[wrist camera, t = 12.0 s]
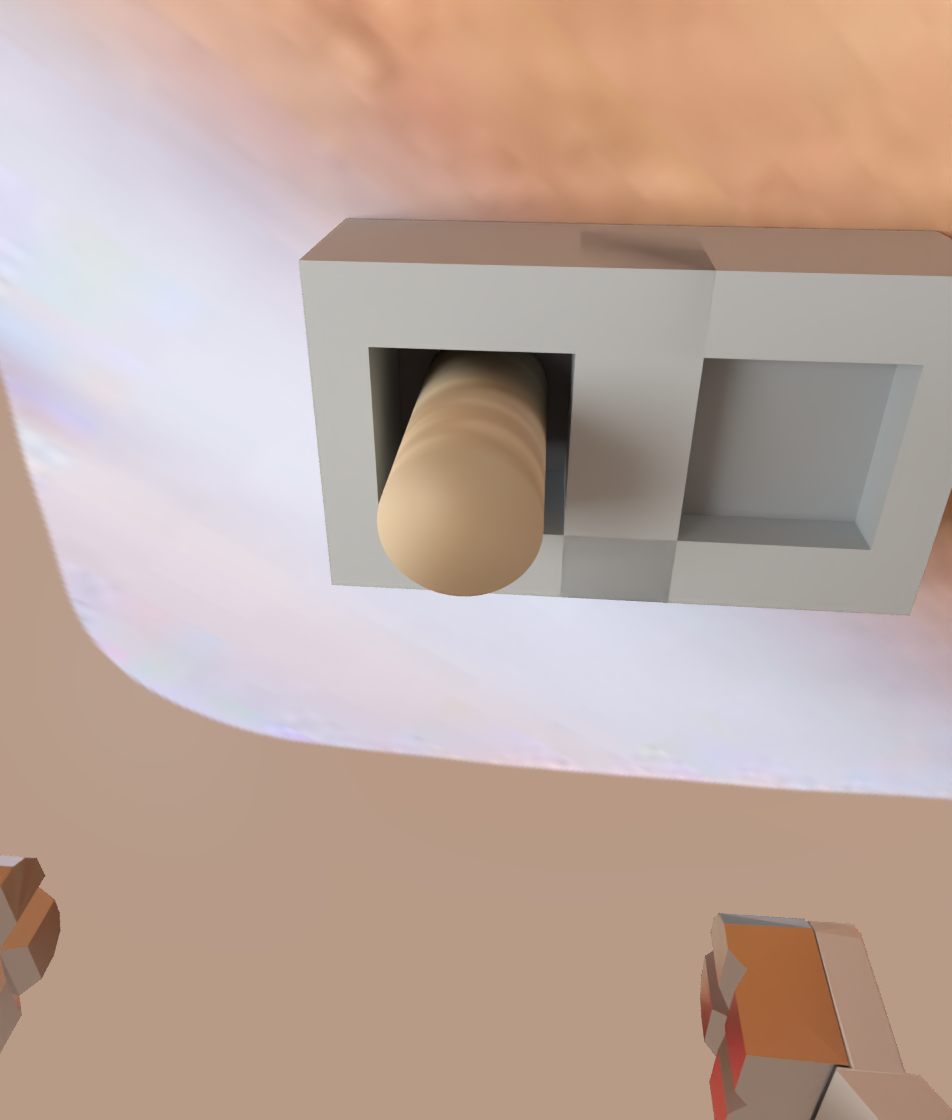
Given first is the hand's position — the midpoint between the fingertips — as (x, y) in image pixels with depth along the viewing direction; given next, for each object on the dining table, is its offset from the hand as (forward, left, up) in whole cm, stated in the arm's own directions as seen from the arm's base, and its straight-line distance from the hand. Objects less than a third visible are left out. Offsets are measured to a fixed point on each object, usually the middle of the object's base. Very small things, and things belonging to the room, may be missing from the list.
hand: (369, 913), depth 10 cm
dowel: (0, 0, -18) cm, 18 cm away
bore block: (-4, 0, -19) cm, 19 cm away
